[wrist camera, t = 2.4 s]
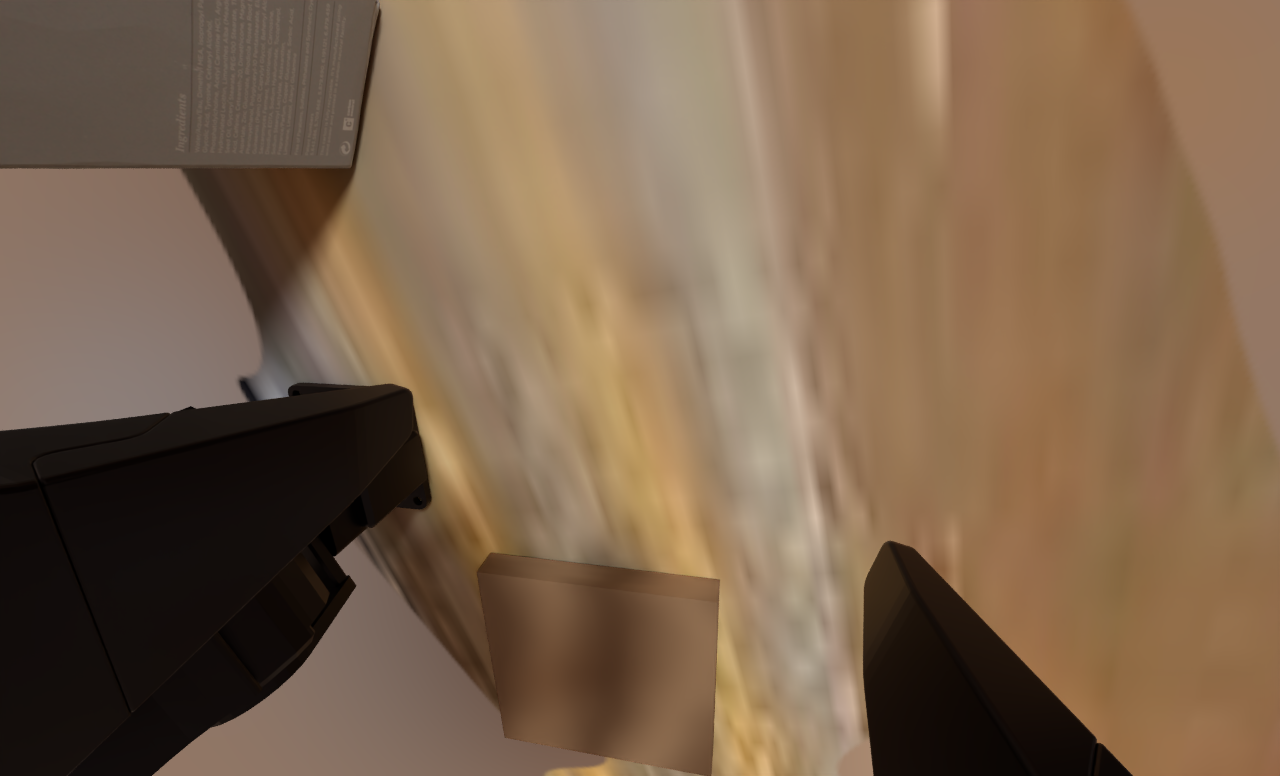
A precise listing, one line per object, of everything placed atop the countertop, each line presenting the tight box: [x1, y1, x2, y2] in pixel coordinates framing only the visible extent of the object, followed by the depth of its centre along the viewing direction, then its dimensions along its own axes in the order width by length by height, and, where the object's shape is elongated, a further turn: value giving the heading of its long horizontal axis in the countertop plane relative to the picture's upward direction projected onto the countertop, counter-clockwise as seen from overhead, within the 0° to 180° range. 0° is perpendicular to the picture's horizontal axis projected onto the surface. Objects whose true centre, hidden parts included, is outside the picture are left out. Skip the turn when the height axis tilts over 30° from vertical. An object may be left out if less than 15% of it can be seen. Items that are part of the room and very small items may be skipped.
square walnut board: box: [477, 553, 720, 776], centre depth 28 cm, size 12×12×2 cm
